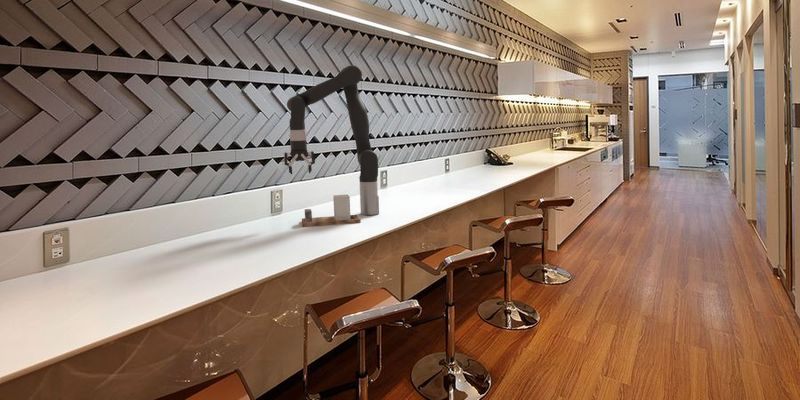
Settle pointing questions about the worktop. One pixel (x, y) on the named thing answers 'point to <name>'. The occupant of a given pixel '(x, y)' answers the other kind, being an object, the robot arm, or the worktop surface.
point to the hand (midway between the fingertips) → (300, 173)
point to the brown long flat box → (325, 220)
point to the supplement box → (341, 207)
